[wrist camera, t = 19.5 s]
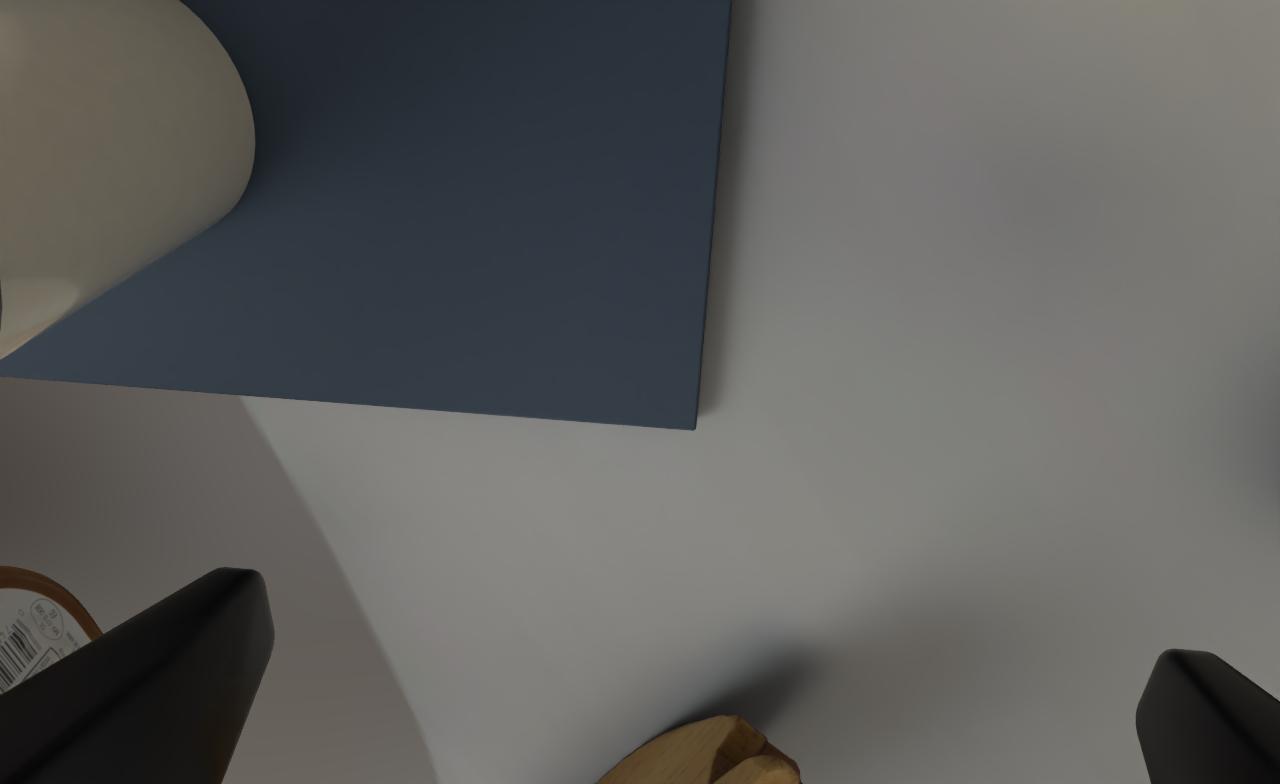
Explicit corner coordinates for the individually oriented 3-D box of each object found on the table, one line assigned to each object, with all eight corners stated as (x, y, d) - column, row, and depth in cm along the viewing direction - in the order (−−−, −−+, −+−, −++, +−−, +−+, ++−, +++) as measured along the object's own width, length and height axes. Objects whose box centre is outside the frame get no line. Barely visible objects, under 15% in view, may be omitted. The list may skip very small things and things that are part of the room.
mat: (747, -187, 17) (748, -190, 16) (696, 419, 23) (695, 431, 22) (-276, -232, 18) (-306, -236, 17) (-57, 361, 24) (-75, 371, 23)
